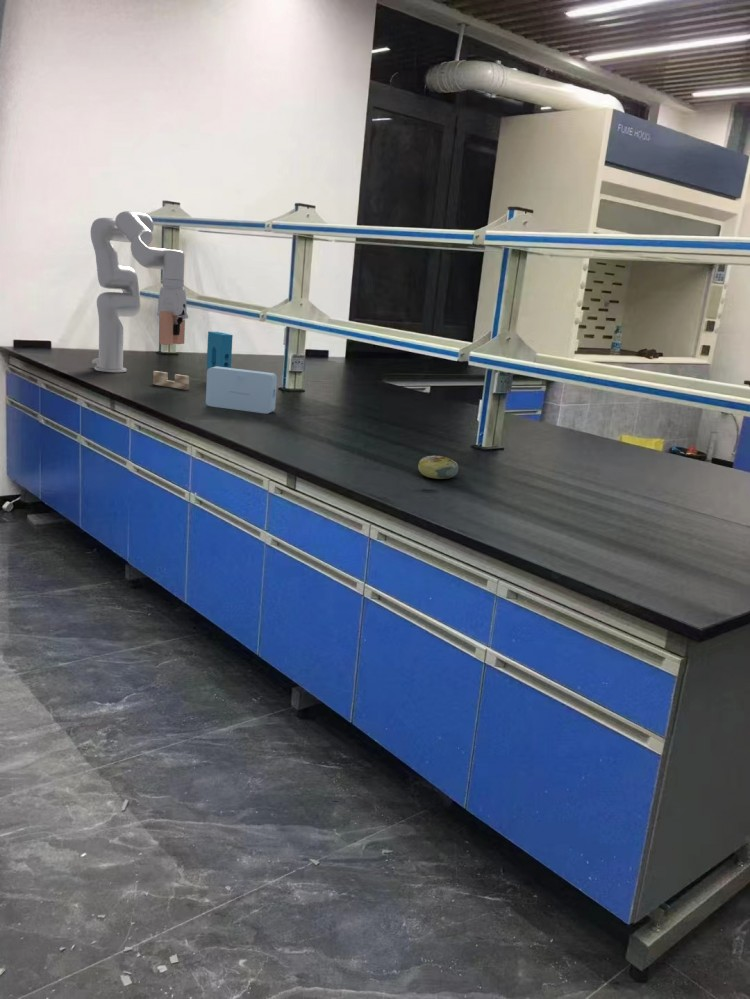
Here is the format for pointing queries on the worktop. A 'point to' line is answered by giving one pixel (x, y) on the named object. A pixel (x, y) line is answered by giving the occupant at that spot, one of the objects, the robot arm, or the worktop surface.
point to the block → (219, 350)
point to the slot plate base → (162, 380)
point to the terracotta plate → (170, 330)
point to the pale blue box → (241, 389)
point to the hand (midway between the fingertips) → (172, 334)
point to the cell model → (438, 467)
